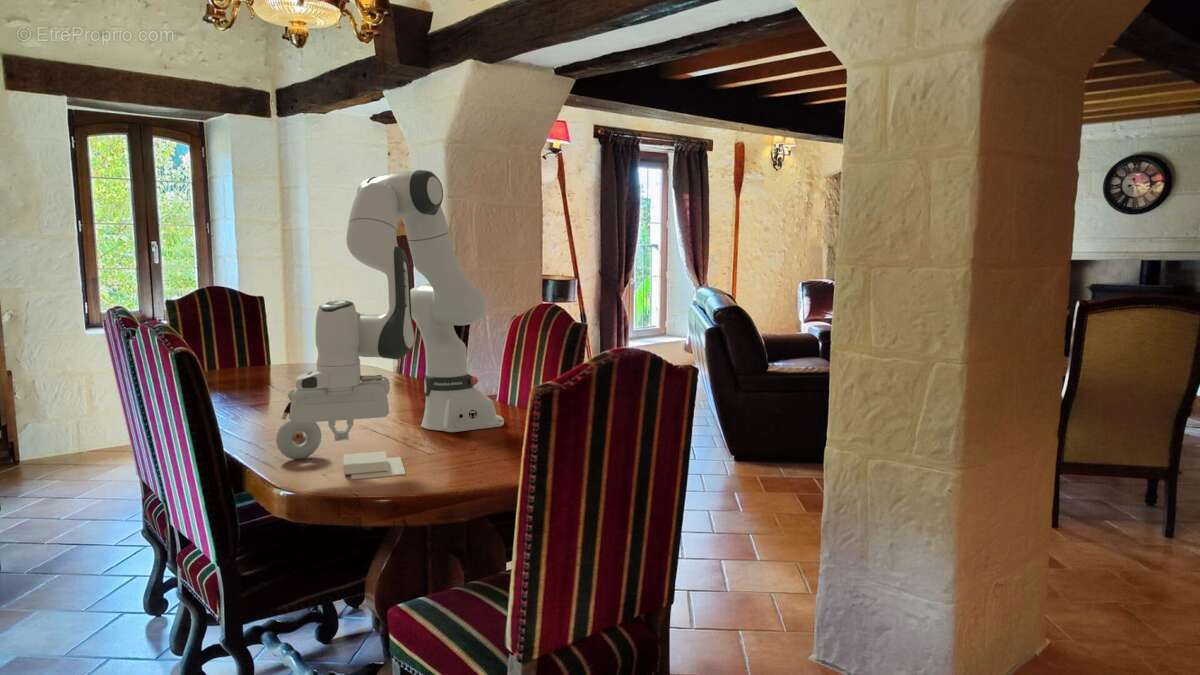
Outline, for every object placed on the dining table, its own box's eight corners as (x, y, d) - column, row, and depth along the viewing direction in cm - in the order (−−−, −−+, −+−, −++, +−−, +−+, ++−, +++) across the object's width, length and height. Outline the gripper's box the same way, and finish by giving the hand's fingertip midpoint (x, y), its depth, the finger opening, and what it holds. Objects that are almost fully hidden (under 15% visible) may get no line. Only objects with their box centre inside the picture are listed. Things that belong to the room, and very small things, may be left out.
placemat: (400, 458, 174) (400, 456, 174) (405, 474, 161) (405, 473, 161) (350, 462, 171) (350, 461, 171) (351, 479, 158) (351, 478, 158)
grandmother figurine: (294, 440, 192) (292, 391, 190) (280, 439, 192) (278, 390, 191) (311, 433, 199) (309, 385, 198) (298, 432, 200) (296, 385, 198)
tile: (343, 464, 168) (385, 461, 171) (344, 475, 159) (388, 471, 162) (343, 454, 168) (385, 451, 171) (343, 465, 159) (387, 461, 162)
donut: (319, 453, 178) (317, 412, 177) (324, 456, 176) (322, 414, 174) (275, 461, 172) (273, 418, 171) (279, 464, 169) (277, 420, 168)
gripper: (388, 372, 168) (390, 432, 169) (289, 377, 161) (292, 440, 163) (390, 376, 162) (392, 439, 163) (287, 381, 155) (290, 447, 157)
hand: (341, 440), depth 163 cm, fingers closed
